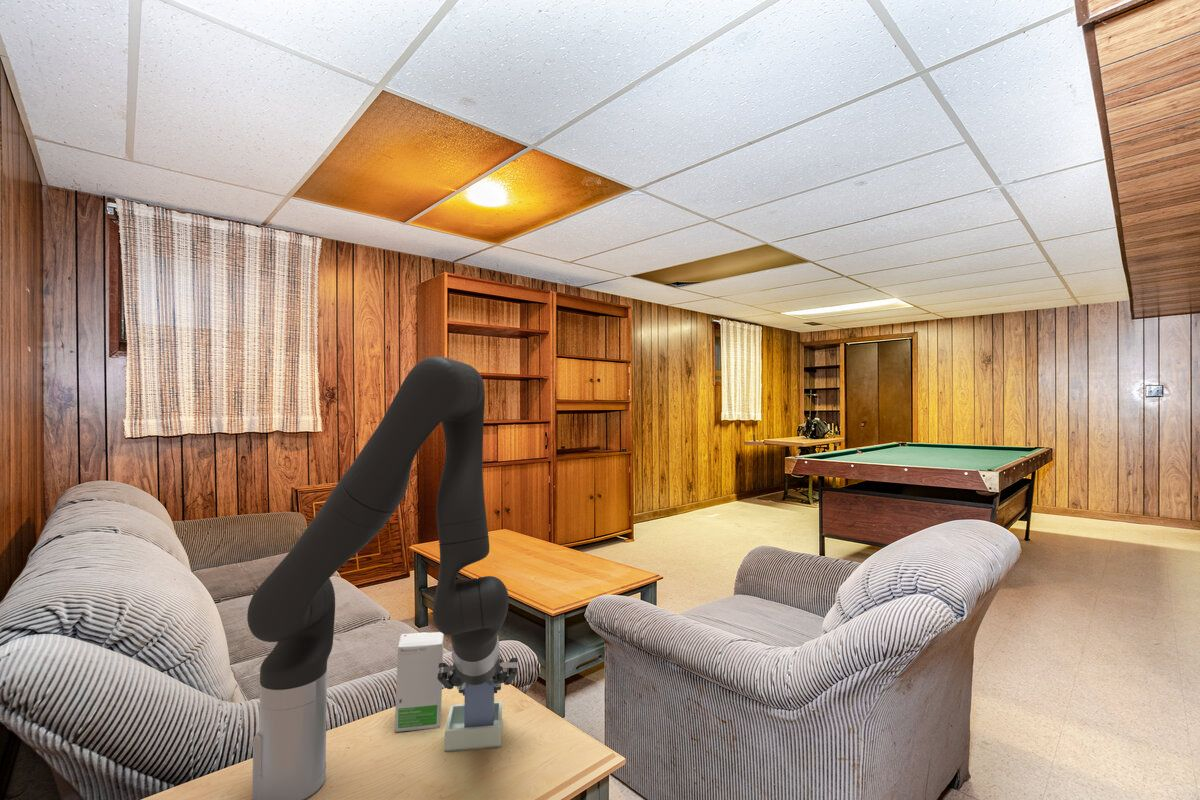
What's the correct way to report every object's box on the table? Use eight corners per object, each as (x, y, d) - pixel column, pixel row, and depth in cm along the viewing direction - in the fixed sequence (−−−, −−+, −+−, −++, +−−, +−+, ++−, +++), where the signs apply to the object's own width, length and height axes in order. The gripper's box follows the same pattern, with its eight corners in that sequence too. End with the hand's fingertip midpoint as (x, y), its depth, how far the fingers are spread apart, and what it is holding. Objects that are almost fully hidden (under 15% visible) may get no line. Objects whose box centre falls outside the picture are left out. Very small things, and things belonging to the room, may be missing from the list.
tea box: (464, 734, 96) (464, 666, 97) (466, 718, 101) (467, 653, 102) (493, 732, 97) (493, 664, 98) (494, 716, 102) (494, 651, 103)
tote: (444, 752, 94) (444, 731, 94) (450, 723, 103) (450, 705, 103) (501, 746, 96) (501, 726, 96) (502, 719, 104) (502, 700, 104)
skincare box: (394, 733, 100) (394, 647, 100) (398, 714, 106) (399, 633, 106) (441, 727, 102) (442, 643, 102) (443, 708, 108) (444, 629, 108)
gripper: (520, 626, 94) (519, 665, 105) (433, 631, 91) (442, 670, 103) (520, 672, 88) (519, 707, 100) (428, 678, 86) (438, 714, 98)
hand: (480, 688), depth 101 cm, fingers closed on tea box, 5 cm apart
